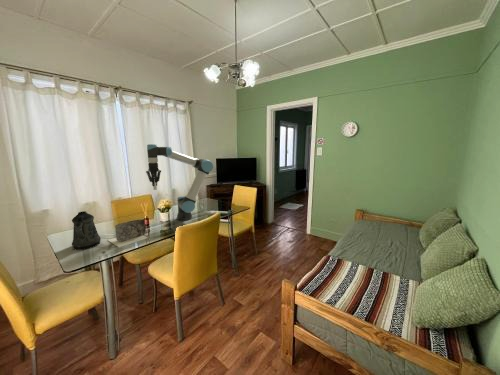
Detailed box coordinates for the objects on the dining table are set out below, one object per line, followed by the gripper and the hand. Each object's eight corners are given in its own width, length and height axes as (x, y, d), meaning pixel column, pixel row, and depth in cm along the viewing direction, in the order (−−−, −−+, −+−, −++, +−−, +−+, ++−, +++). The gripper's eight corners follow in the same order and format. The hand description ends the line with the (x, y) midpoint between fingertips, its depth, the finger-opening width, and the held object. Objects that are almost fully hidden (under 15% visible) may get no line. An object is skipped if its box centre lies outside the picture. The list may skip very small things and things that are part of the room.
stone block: (146, 234, 169) (120, 243, 153) (142, 233, 173) (116, 241, 158) (145, 219, 168) (117, 225, 152) (140, 217, 172) (113, 224, 156)
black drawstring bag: (97, 238, 163) (93, 207, 159) (105, 245, 151) (101, 212, 147) (69, 245, 150) (64, 212, 146) (76, 253, 138) (71, 217, 134)
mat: (137, 232, 176) (137, 231, 176) (149, 237, 165) (149, 237, 165) (107, 240, 159) (107, 240, 159) (119, 247, 147) (118, 246, 147)
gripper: (157, 162, 186) (159, 188, 190) (143, 162, 176) (145, 190, 180) (162, 162, 182) (164, 189, 186) (147, 163, 171) (150, 191, 175)
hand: (155, 189), depth 183 cm, fingers closed
